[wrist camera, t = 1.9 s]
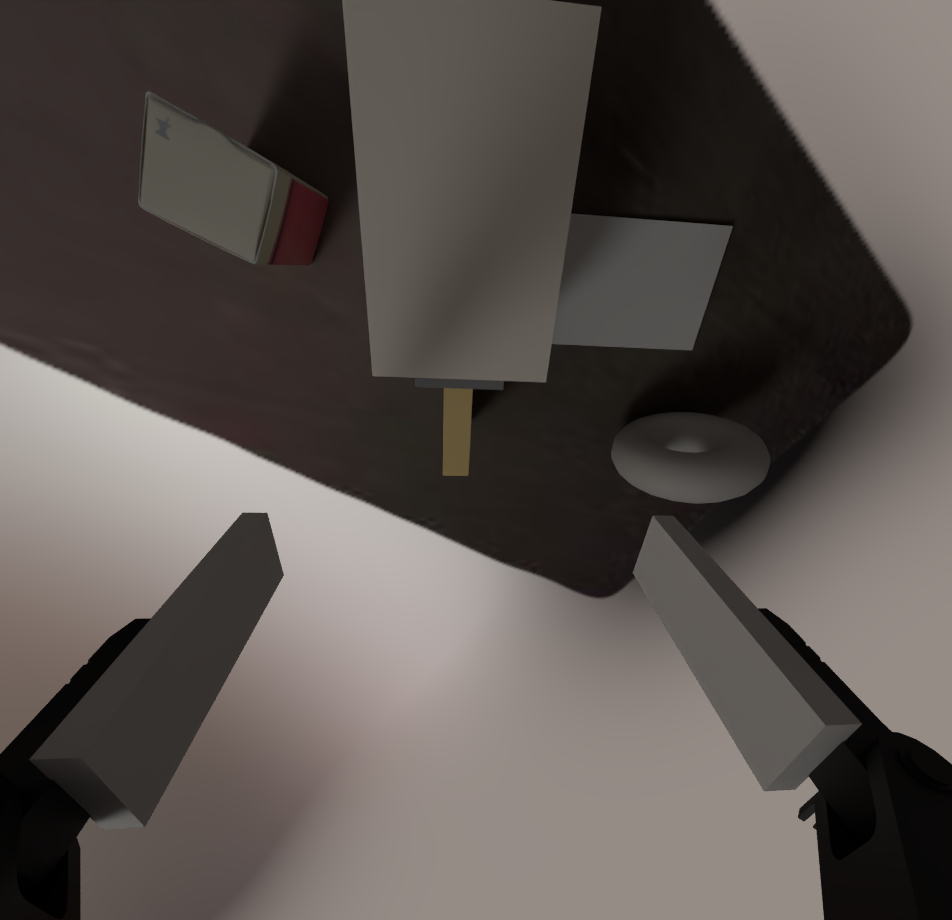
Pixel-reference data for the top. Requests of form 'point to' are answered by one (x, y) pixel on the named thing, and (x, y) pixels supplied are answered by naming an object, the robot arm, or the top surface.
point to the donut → (690, 457)
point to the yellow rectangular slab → (456, 431)
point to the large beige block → (466, 179)
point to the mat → (636, 281)
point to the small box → (225, 190)
